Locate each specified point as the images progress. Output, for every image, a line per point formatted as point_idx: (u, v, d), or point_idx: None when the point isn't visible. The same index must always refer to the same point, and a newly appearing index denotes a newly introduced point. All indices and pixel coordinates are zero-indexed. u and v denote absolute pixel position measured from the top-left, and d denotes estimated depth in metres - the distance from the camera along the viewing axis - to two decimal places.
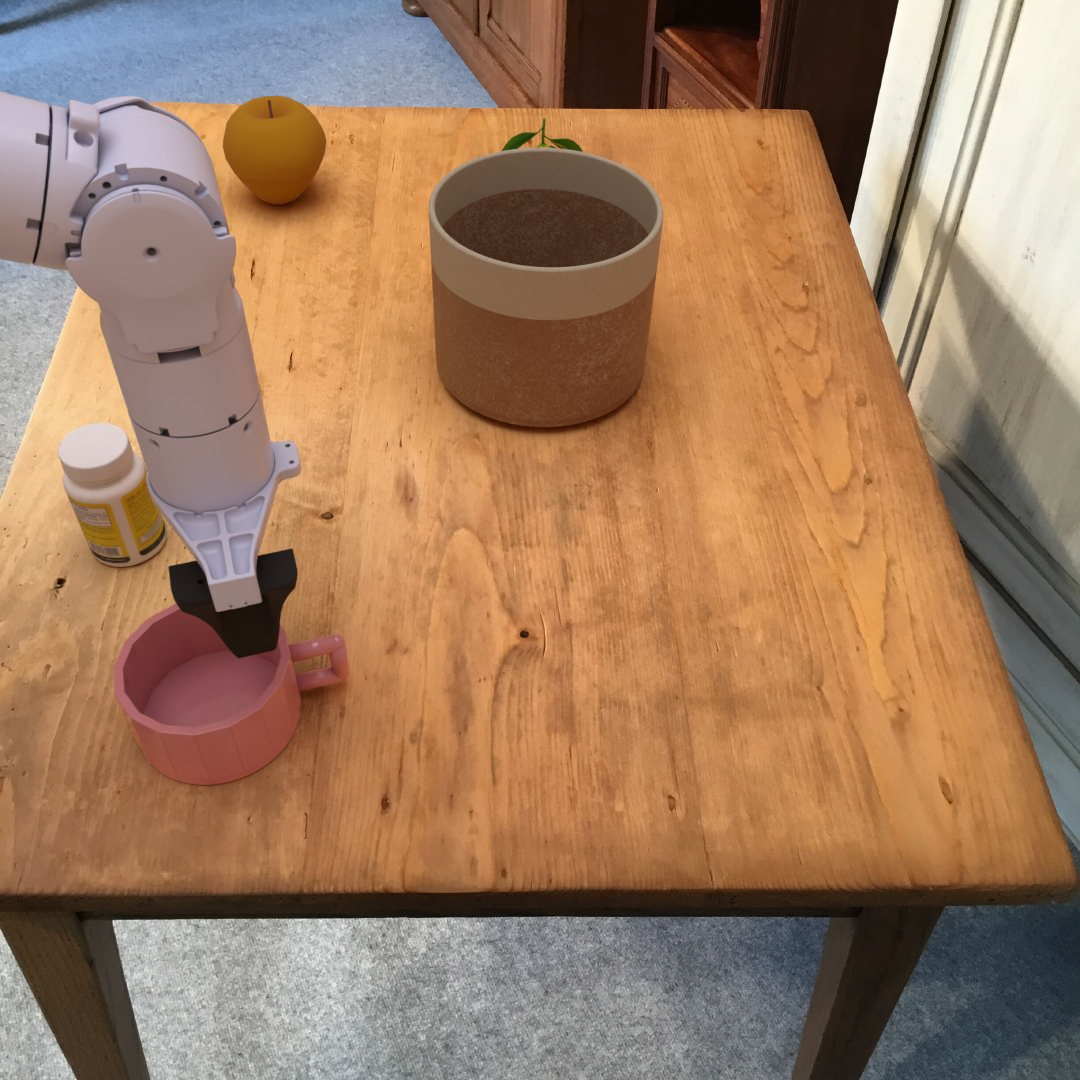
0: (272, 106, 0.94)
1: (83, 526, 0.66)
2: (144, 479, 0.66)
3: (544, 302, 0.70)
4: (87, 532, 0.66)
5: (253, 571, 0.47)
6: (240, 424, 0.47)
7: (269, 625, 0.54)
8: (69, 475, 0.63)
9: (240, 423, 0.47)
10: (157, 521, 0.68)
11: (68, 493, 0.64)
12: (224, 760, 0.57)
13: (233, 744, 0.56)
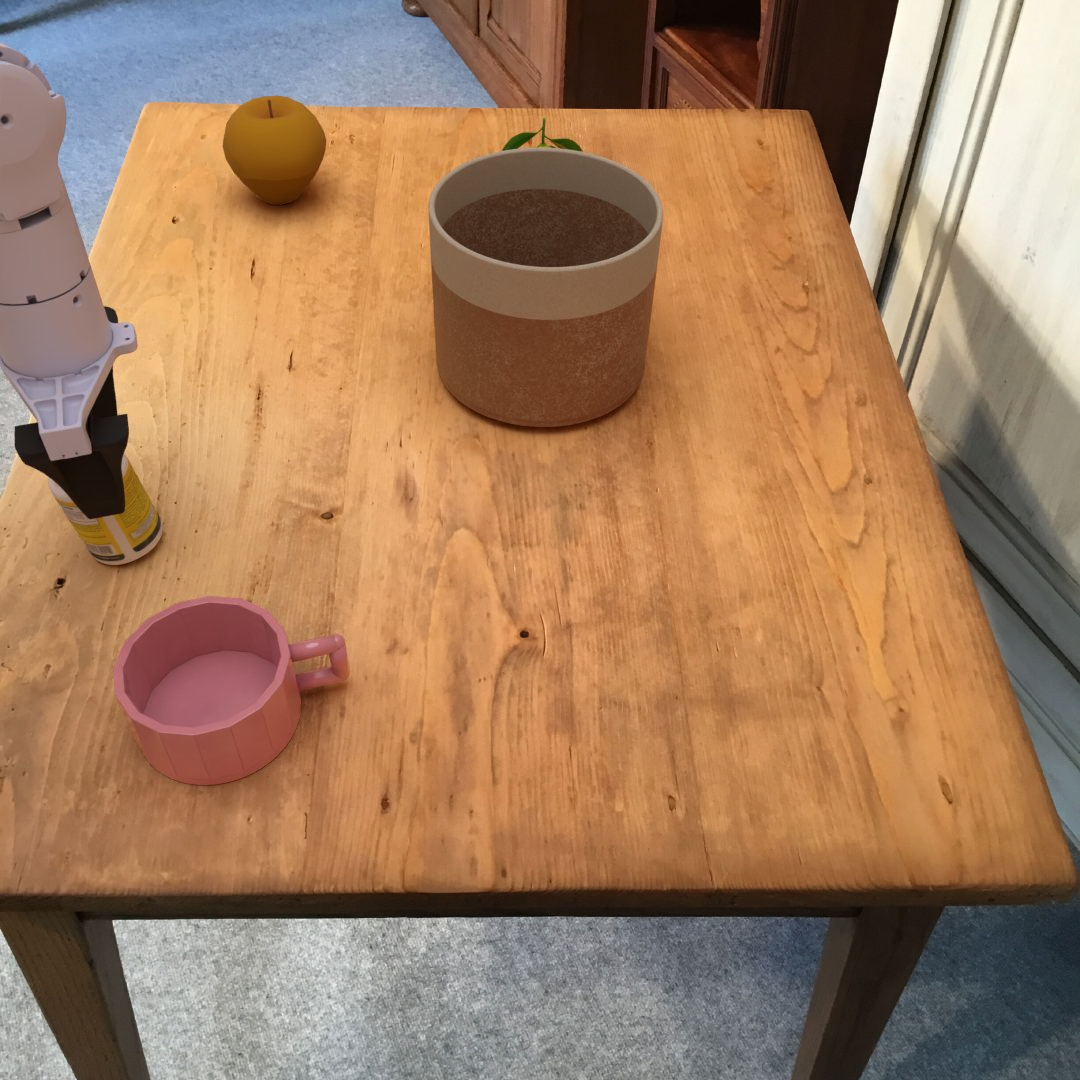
0: (272, 106, 0.94)
1: (74, 526, 0.66)
2: (127, 474, 0.65)
3: (544, 302, 0.70)
4: (79, 532, 0.66)
5: (80, 423, 0.54)
6: (68, 296, 0.54)
7: (114, 487, 0.61)
8: None
9: (68, 295, 0.54)
10: (149, 516, 0.67)
11: (53, 494, 0.64)
12: (224, 760, 0.57)
13: (233, 744, 0.56)
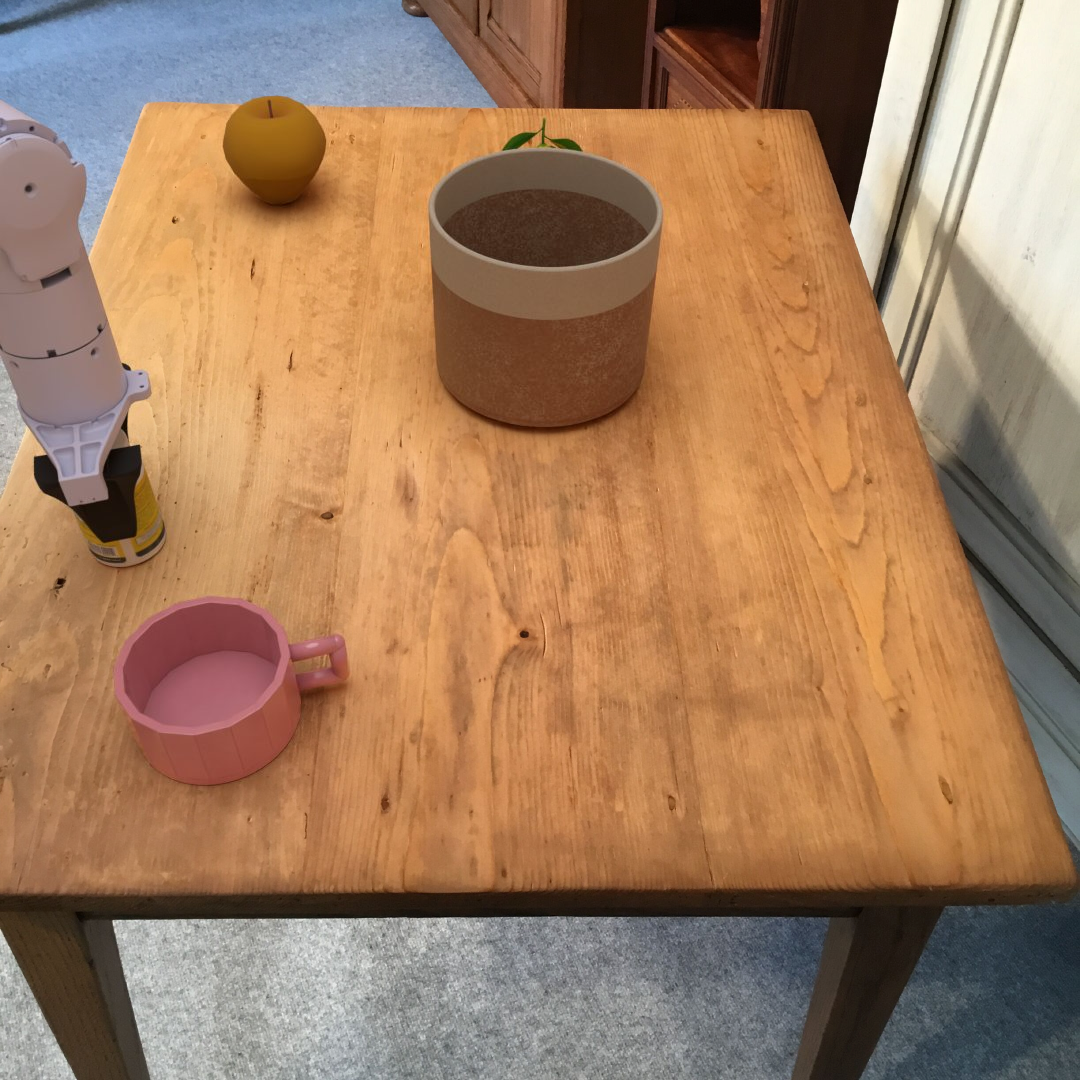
0: (272, 106, 0.94)
1: (80, 524, 0.66)
2: (142, 481, 0.65)
3: (544, 302, 0.70)
4: (84, 531, 0.66)
5: (97, 471, 0.56)
6: (86, 349, 0.56)
7: (126, 513, 0.64)
8: None
9: (87, 348, 0.56)
10: (156, 523, 0.68)
11: None
12: (224, 760, 0.57)
13: (233, 744, 0.56)
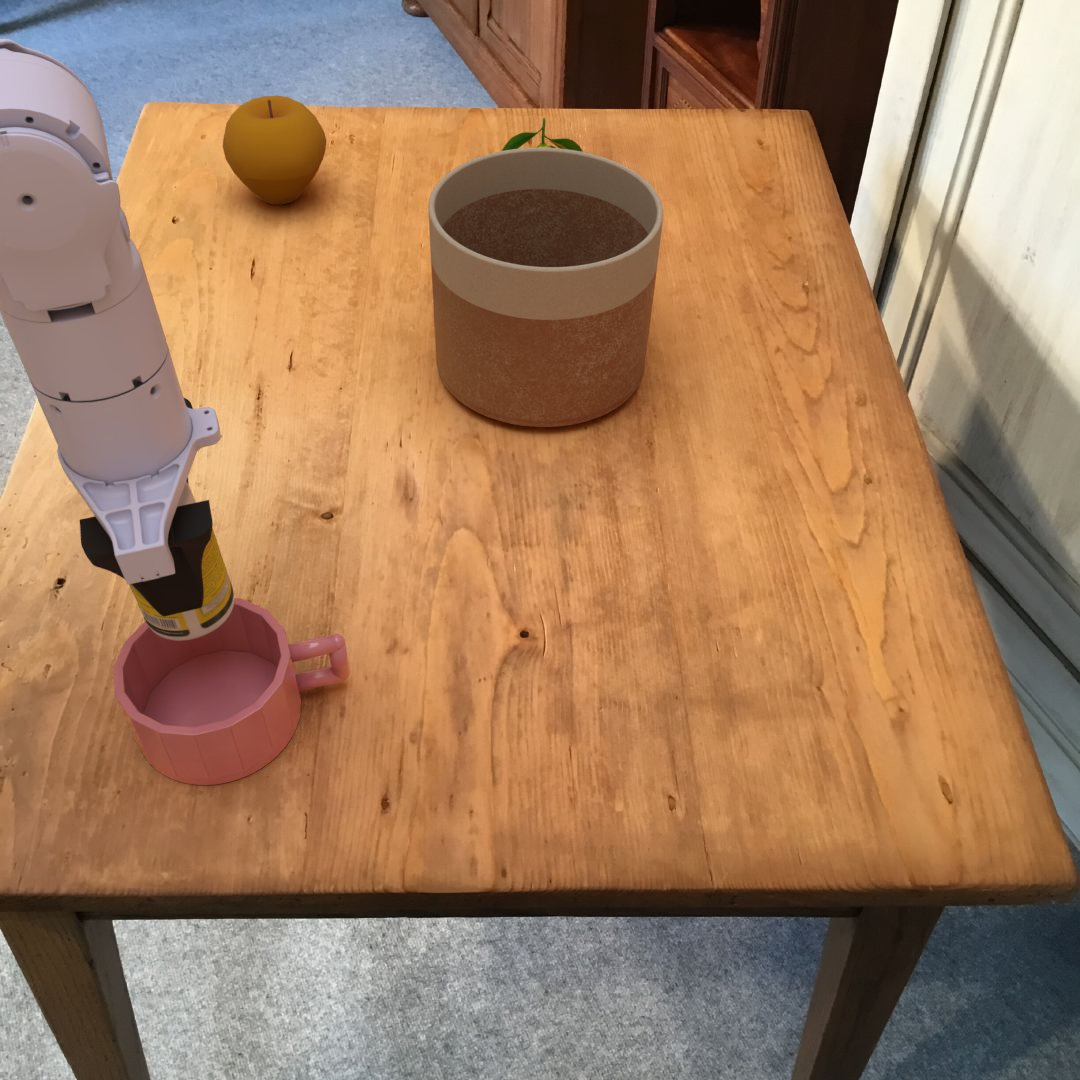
0: (272, 106, 0.94)
1: (135, 593, 0.55)
2: None
3: (544, 302, 0.70)
4: (139, 600, 0.55)
5: (162, 541, 0.45)
6: (145, 387, 0.45)
7: (191, 581, 0.52)
8: None
9: (145, 386, 0.45)
10: (224, 588, 0.56)
11: None
12: (224, 760, 0.57)
13: (233, 744, 0.56)
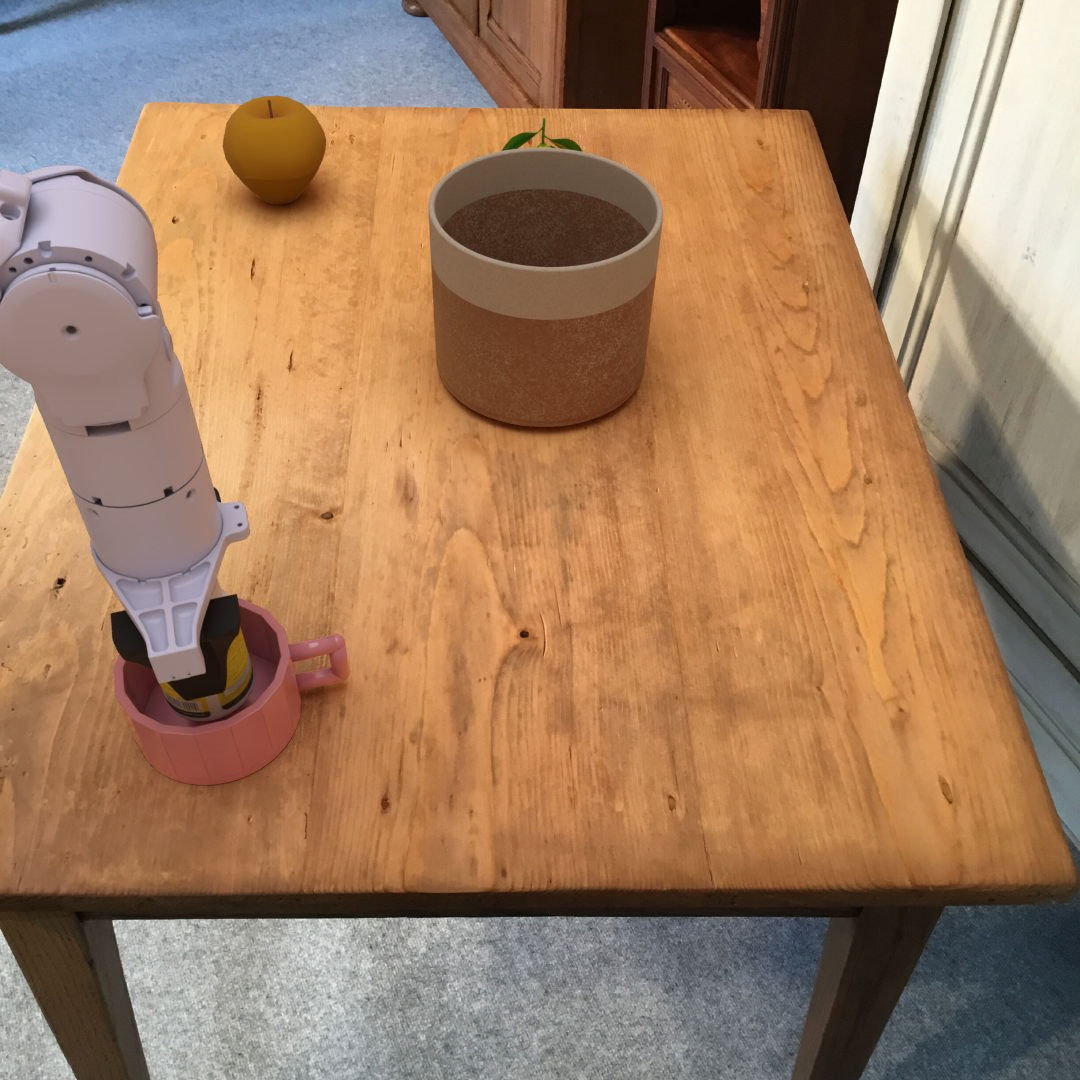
0: (272, 106, 0.94)
1: None
2: None
3: (544, 302, 0.70)
4: (163, 683, 0.56)
5: (195, 643, 0.46)
6: (181, 492, 0.46)
7: (216, 669, 0.53)
8: None
9: (182, 491, 0.46)
10: (245, 670, 0.57)
11: None
12: (224, 760, 0.57)
13: (233, 744, 0.56)
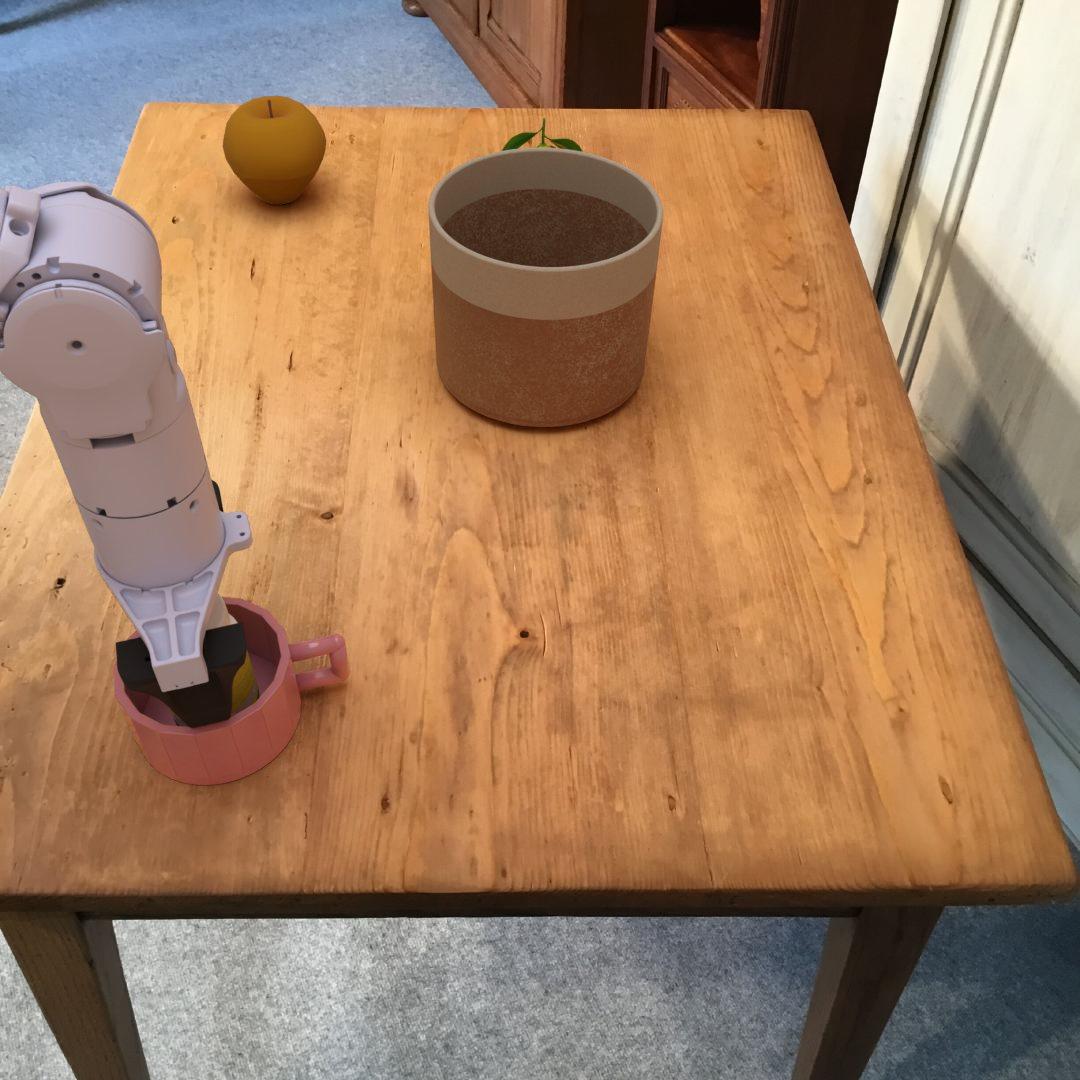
0: (272, 106, 0.94)
1: None
2: None
3: (544, 302, 0.70)
4: None
5: (198, 652, 0.46)
6: (185, 503, 0.46)
7: (221, 696, 0.53)
8: None
9: (185, 502, 0.46)
10: (252, 693, 0.59)
11: None
12: (224, 760, 0.57)
13: (233, 744, 0.56)
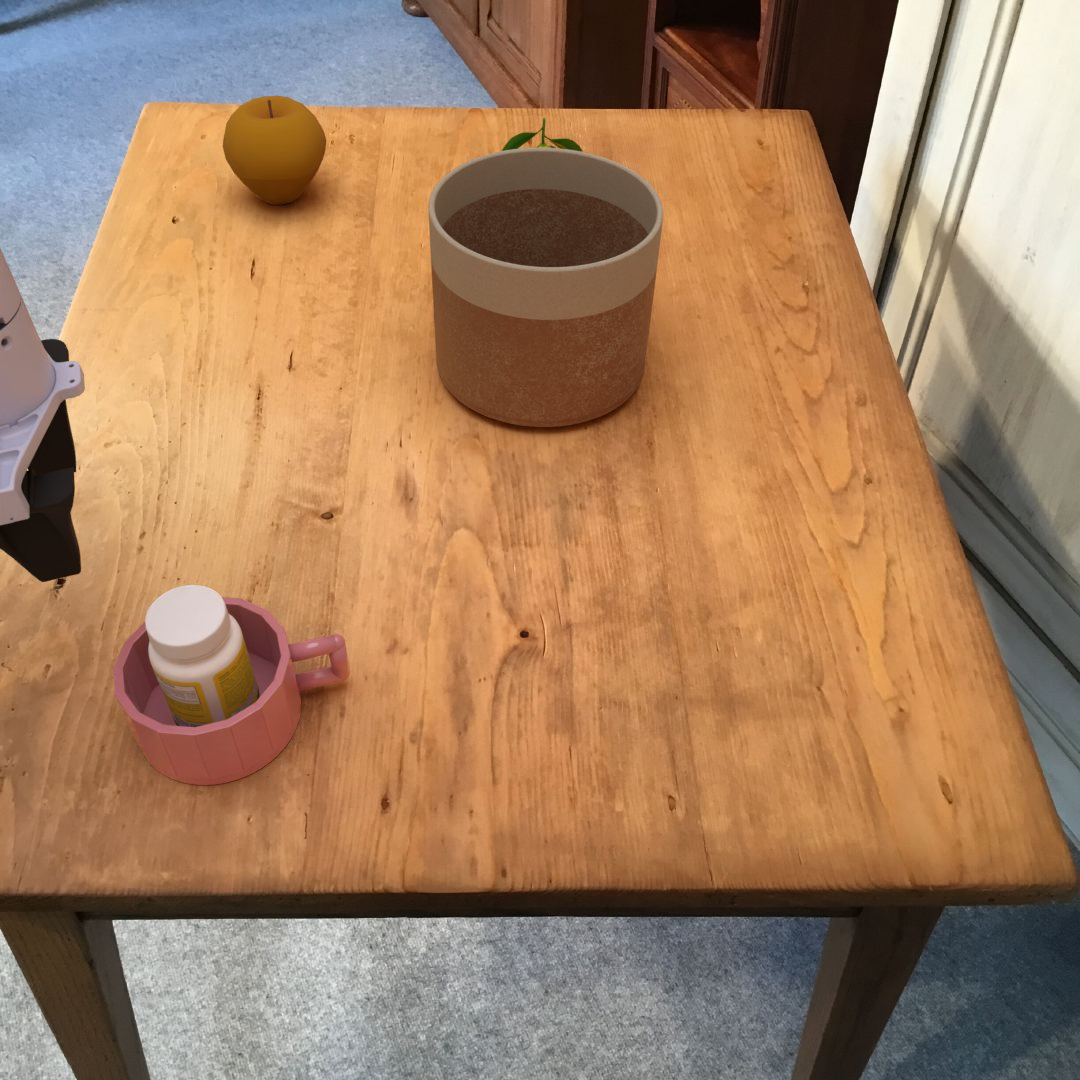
0: (272, 106, 0.94)
1: (168, 699, 0.57)
2: (241, 651, 0.56)
3: (544, 302, 0.70)
4: (172, 706, 0.57)
5: (12, 486, 0.47)
6: None
7: (65, 547, 0.54)
8: (156, 649, 0.54)
9: None
10: (252, 693, 0.59)
11: (153, 666, 0.55)
12: (224, 760, 0.57)
13: (233, 744, 0.56)
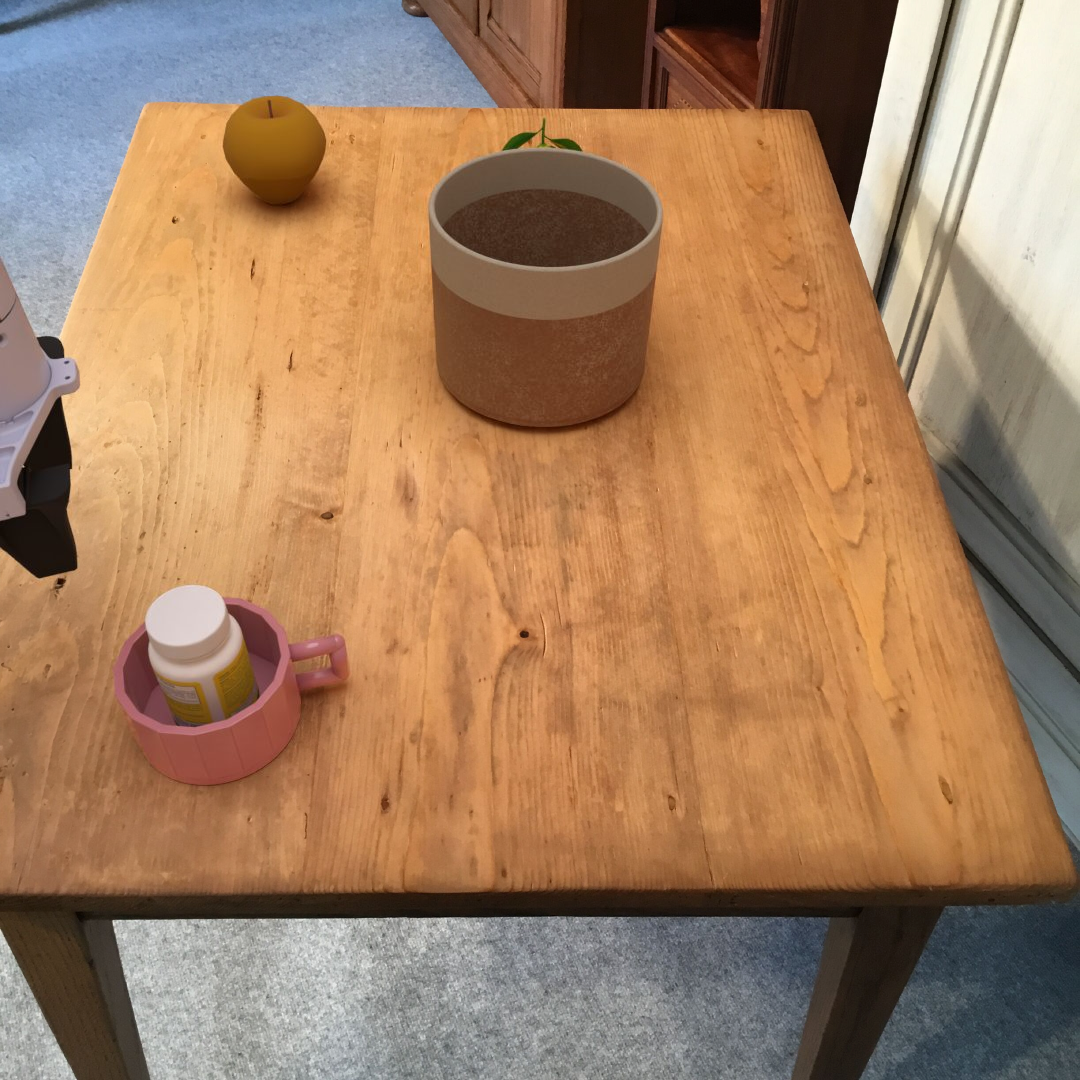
0: (272, 106, 0.94)
1: (168, 699, 0.57)
2: (241, 651, 0.56)
3: (544, 302, 0.70)
4: (172, 706, 0.57)
5: (8, 482, 0.47)
6: None
7: (62, 544, 0.54)
8: (156, 649, 0.54)
9: None
10: (252, 693, 0.59)
11: (153, 666, 0.55)
12: (224, 760, 0.57)
13: (233, 744, 0.56)
